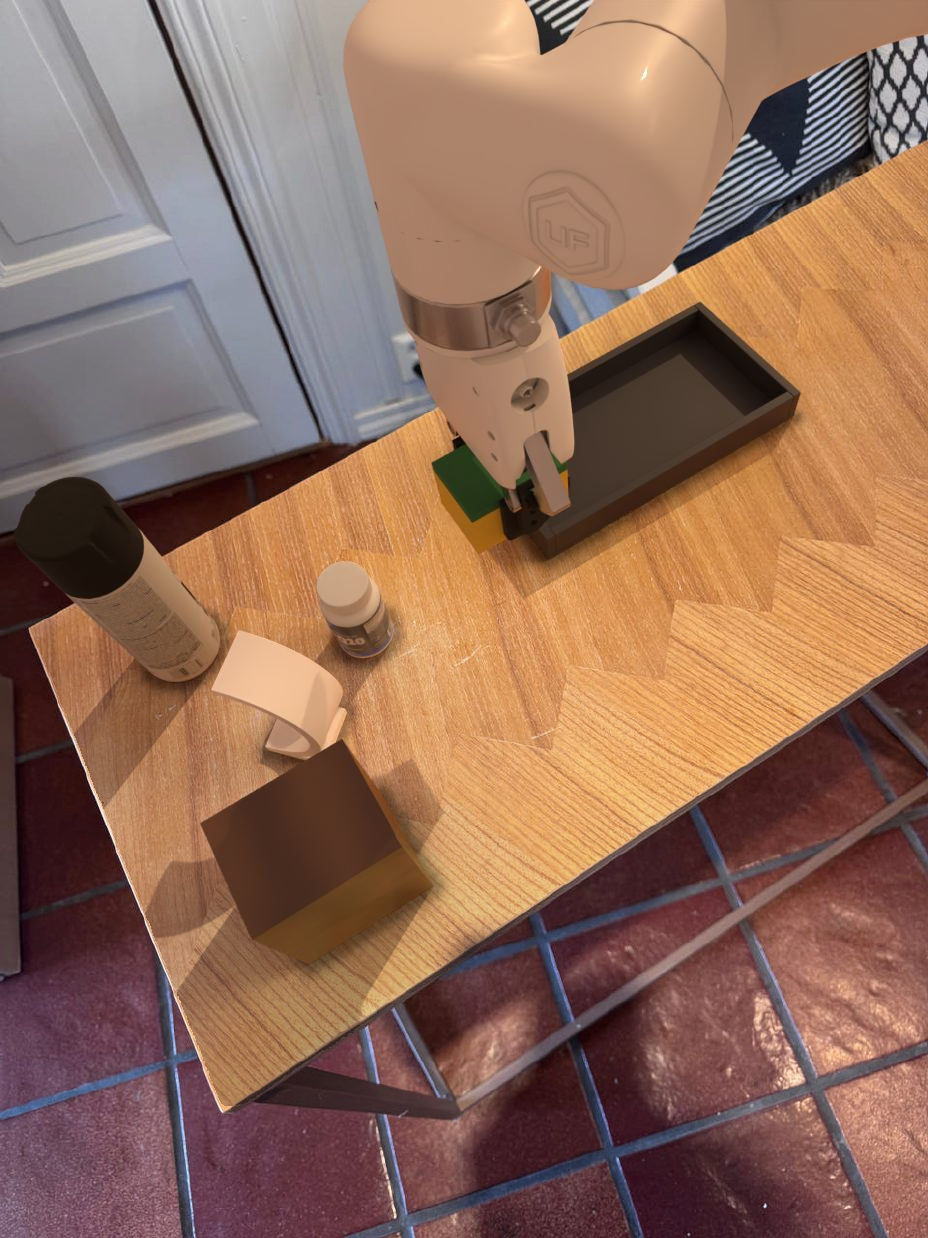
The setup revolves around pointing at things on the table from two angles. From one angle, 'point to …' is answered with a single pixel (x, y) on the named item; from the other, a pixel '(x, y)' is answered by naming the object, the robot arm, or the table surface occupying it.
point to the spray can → (117, 577)
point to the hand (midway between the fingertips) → (503, 496)
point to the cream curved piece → (283, 694)
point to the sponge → (476, 495)
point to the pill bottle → (354, 609)
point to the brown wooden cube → (314, 856)
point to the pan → (660, 418)
